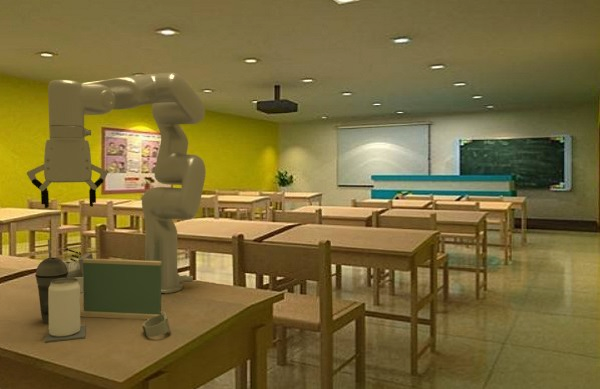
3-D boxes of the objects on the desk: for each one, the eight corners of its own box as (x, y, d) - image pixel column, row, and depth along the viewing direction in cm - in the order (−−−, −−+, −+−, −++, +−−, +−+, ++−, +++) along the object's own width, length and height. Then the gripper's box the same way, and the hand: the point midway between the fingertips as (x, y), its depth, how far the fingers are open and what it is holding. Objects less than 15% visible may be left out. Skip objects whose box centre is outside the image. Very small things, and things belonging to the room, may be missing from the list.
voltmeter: (109, 288, 156) (109, 256, 156) (72, 294, 148) (71, 261, 147) (74, 274, 175) (74, 245, 174) (39, 279, 166) (39, 249, 166)
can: (69, 326, 118) (69, 275, 118) (86, 331, 115) (85, 279, 114) (42, 333, 113) (42, 281, 112) (59, 339, 109) (58, 285, 109)
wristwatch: (172, 339, 112) (172, 317, 112) (142, 342, 110) (142, 319, 110) (168, 326, 121) (168, 306, 121) (141, 328, 119) (141, 308, 119)
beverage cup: (46, 327, 119) (45, 243, 117) (29, 321, 122) (28, 240, 121) (75, 319, 125) (74, 239, 123) (57, 314, 129) (56, 236, 127)
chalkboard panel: (80, 316, 127) (80, 260, 126) (88, 311, 131) (88, 257, 130) (157, 320, 125) (157, 263, 124) (163, 315, 129) (163, 260, 128)
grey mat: (85, 327, 119) (85, 325, 119) (85, 338, 112) (85, 336, 112) (48, 330, 116) (48, 329, 116) (44, 342, 109) (44, 340, 109)
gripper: (106, 135, 125) (107, 204, 126) (27, 133, 118) (29, 206, 119) (107, 134, 118) (109, 207, 119) (23, 132, 111) (26, 209, 112)
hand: (69, 206), depth 119 cm, fingers open, 9 cm apart
